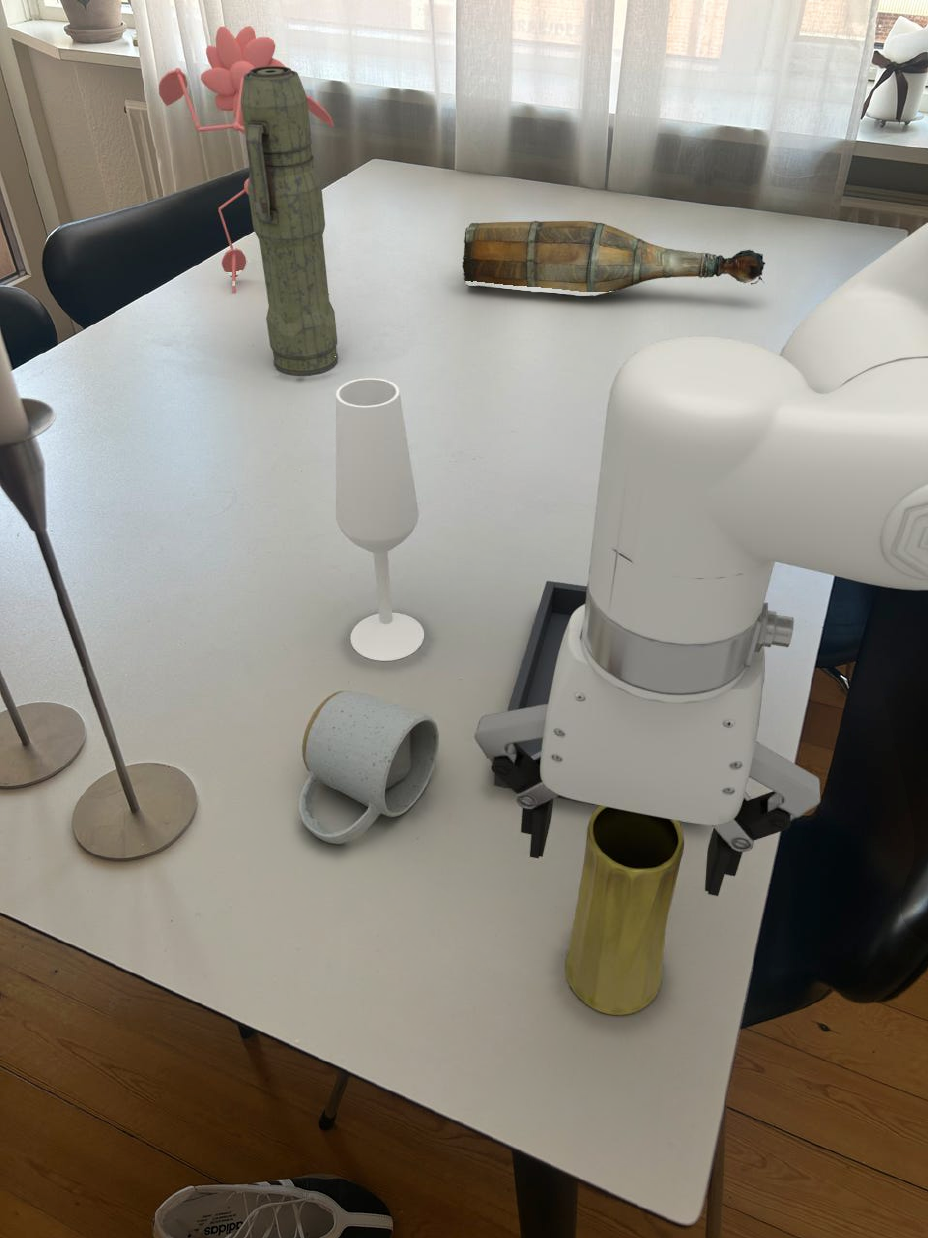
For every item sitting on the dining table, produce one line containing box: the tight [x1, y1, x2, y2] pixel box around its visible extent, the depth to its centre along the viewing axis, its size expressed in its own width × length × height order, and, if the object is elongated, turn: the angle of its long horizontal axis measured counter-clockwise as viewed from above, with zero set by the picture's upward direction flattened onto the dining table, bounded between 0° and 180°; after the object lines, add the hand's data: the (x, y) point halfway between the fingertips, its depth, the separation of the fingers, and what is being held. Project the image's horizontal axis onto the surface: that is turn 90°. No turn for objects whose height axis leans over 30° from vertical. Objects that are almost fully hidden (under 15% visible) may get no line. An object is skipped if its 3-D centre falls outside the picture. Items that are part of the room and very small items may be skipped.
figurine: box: [158, 25, 335, 293], centre depth 144 cm, size 15×26×35 cm, turn 80°
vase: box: [564, 805, 685, 1016], centre depth 57 cm, size 6×6×14 cm
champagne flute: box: [335, 377, 425, 662], centre depth 79 cm, size 7×7×24 cm
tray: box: [493, 580, 588, 804], centre depth 79 cm, size 16×22×4 cm
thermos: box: [241, 66, 339, 377], centre depth 120 cm, size 9×12×35 cm
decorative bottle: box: [462, 220, 766, 292], centre depth 144 cm, size 11×11×45 cm
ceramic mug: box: [298, 690, 440, 845], centre depth 71 cm, size 11×8×8 cm
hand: (625, 855), depth 54 cm, fingers open, 9 cm apart
